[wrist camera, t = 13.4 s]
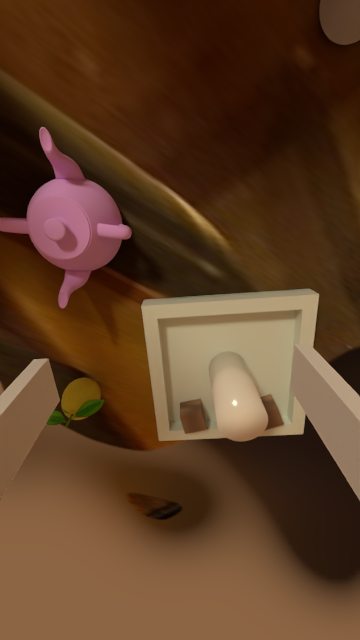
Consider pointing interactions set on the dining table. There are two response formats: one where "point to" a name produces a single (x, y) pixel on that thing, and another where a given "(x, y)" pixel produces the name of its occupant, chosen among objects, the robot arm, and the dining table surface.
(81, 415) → the lemon
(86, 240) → the teapot
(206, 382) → the tray
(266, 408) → the walnut cube
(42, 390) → the robot arm
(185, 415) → the walnut cube
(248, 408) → the white rounded tapered cylinder
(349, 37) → the beverage can
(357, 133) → the dining table surface
